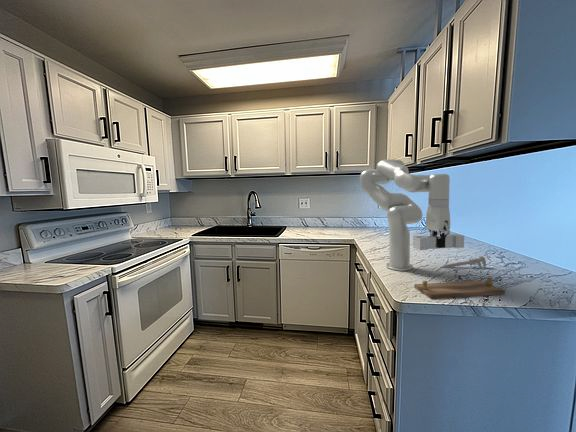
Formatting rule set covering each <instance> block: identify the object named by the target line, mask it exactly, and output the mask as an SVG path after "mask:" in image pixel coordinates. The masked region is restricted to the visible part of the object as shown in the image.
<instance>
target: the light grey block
mask: <svg viewBox="0 0 576 432" xmlns="http://www.w3.org/2000/svg"><path fill="white" fill-rule="evenodd" d="M437 238H438V235H432V236H430V235H412V248H413V249H416V250H418V251H428V250H434V249H435V250H436V249H439V248H437ZM448 248H449V249H453V248H454V249H459V248H460V249H461V248H465V235H463V234H458V233H450V234H448V235H447V236H446V238H445V248H444V249H448Z"/></svg>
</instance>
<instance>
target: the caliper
mask: <svg viewBox="0 0 576 432" xmlns="http://www.w3.org/2000/svg"><path fill="white" fill-rule="evenodd" d="M476 264H477V265H478V268H480V269H481V268H482V267H483V268H484V269H485V268H486V267H487V266H486V265H487V261H486V258H485V257H484V256H483V255H478V257H476V258H475V257H474V258H472V259H471V258H470V259H468V260H464V261H459V262H458V261H457V262H453V263H447V264H443V265H440V268H442V269H446V268H455V267H460V266H464V265H465V266H466V265H470V266H473V265H474V266H475V265H476Z"/></svg>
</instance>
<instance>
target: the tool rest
mask: <svg viewBox="0 0 576 432" xmlns="http://www.w3.org/2000/svg"><path fill="white" fill-rule="evenodd" d="M413 286H414V289H416V290H417V291H419V292H420V293H421V294H423V295H425V296H426V297H428V298H429V299H434V300H435V299H448V298H450V299H451V298H465V297H478V296H479V297H481V296H496V295H505V294H506V293H505V290H504V289H502V288H500V287H497V286H496V285H493V277H492V276H487V278H486V281H483V280H465V281H464V280H461V281H446V282H445V281H444V282H431V283H430V282H429V283H428V281H427V280H422V282H421V283H414V285H413Z"/></svg>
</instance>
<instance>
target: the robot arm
mask: <svg viewBox="0 0 576 432" xmlns="http://www.w3.org/2000/svg"><path fill="white" fill-rule="evenodd" d="M392 181H394V184H395V185H396V186H397V187H398V188H399V189H401V190H404V191H405V192H409V193H427V192H428V207H427V210H426V218H425V228H426V229H427V230H428V231H429V236H432V235H438V238H437V248H438V249H446V248H445V238H446V236H447V235H448V234H451V231H450V230H451V212H450V184H451V183H450V175H449V174H447V173H436V174H435V173H434V174H412V173H411V174H410V172H409V168H408V167H407V166H406V164H405V163H404V162H403V161H402V160H401V159H388V158H387V159H383V160H380V161H379V162H378V163H377V165H376V169H373V168H372V169H366V170H363V171H362V172H361V173H360V175H359V185H360V187H361V189H362V190H363V192H364V193H365V194H366V195H368V197H370V198H371V199H372V201H374V202H375V203H376V204H375V205H377V206H378V207H379V209H381V210H382V211H385V212H387V214H386V218H387V222H388V231H389V235H388V236H389V237H388V239H389V240H388V241H389V243H388V245H389V248H388V249H389V251H388V253H389V254H388V255H389V256H388V259H389V262H387V263H386V265H385V267H386V268H387V269H389V270H393V271H397V272H398V271H400V272H403V271H405V272H406V271H411V270H414V266H413V264H411V255H410V254H411V252H410V249H411V247H410V245H411V243H410V242H411V237H410V236H411V234H410V230H409V228H408V226H407V225H409V224H410V225H412V224H417V223H419V222H420V221H421V220H422V219H423V212H422V209H421V207H419V205H418V204H416V203H415V202H414V201H413V199H411V198H410V197H409V196H407V195H406V194H404V193H401V192H396V193H394V192H389V191H388V190H387V189H386V188H384V187H383V186H382V185H384V184H388V183H390V182H392Z"/></svg>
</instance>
